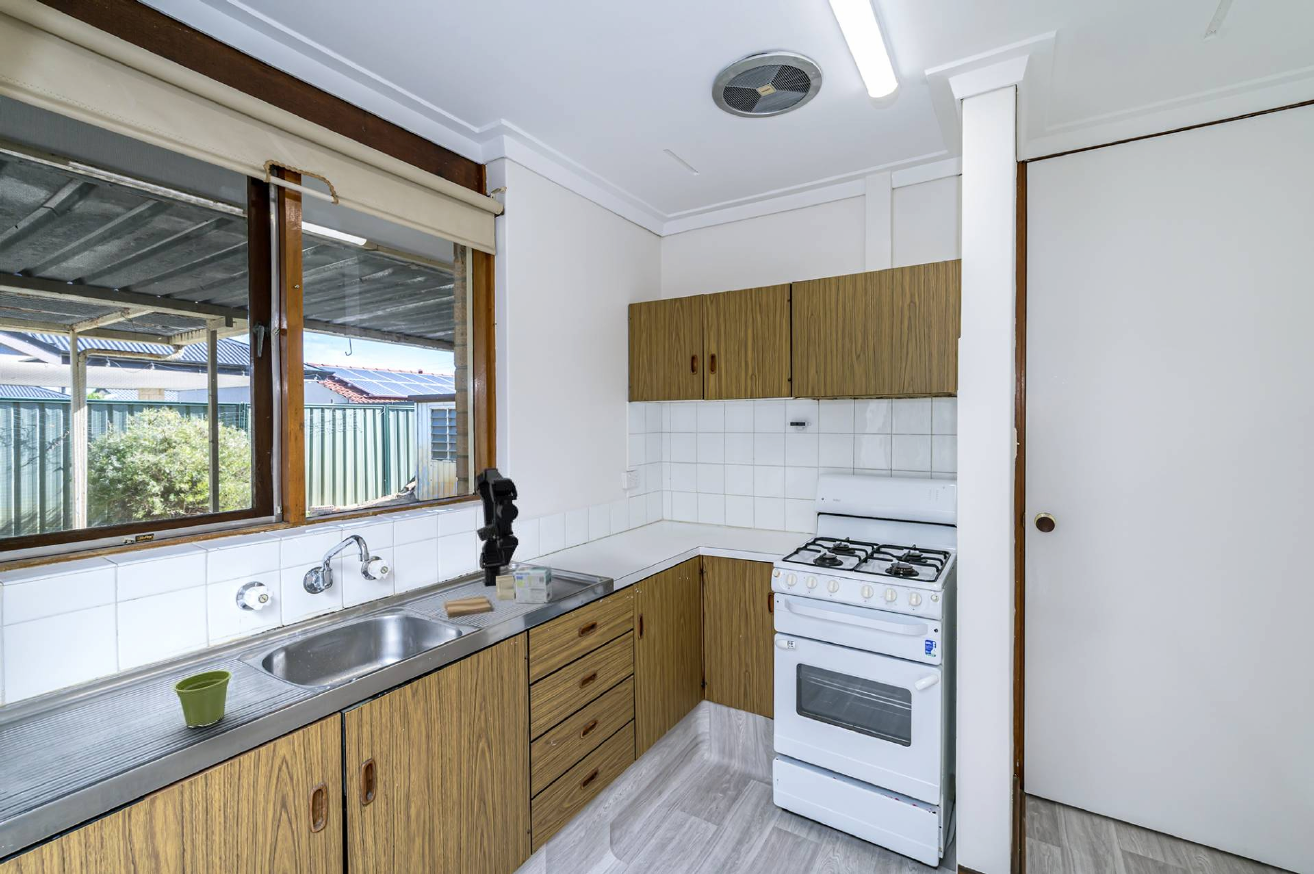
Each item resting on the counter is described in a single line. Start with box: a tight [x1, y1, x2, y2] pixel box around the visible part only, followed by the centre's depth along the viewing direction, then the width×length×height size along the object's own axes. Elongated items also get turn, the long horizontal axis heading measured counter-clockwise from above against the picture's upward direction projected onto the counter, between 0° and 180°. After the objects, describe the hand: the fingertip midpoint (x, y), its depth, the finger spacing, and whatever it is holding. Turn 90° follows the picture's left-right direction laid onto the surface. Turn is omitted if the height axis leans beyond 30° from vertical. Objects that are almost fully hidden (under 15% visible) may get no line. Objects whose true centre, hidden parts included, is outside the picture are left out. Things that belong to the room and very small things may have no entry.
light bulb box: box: [514, 566, 553, 604], centre depth 196 cm, size 11×7×11 cm, turn 84°
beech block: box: [495, 574, 515, 602], centre depth 200 cm, size 5×5×7 cm
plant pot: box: [173, 669, 232, 726], centre depth 120 cm, size 9×9×9 cm
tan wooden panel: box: [444, 595, 493, 619], centre depth 189 cm, size 13×13×2 cm
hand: (504, 561), depth 199 cm, fingers open, 9 cm apart
